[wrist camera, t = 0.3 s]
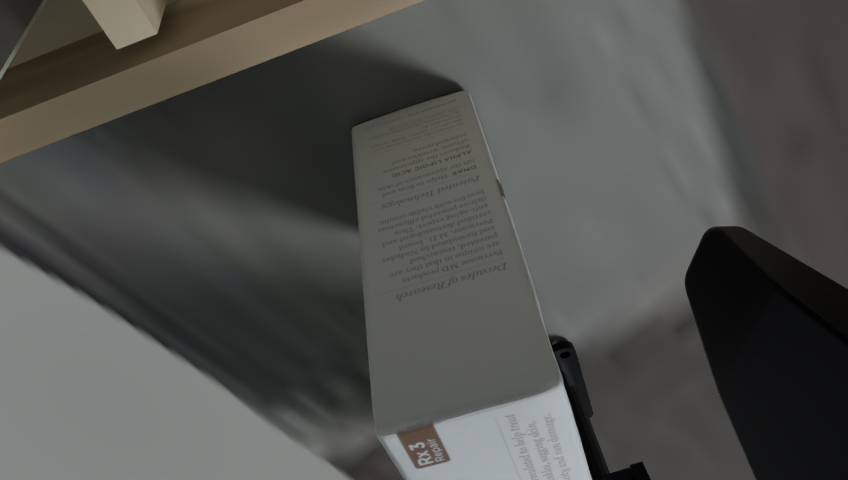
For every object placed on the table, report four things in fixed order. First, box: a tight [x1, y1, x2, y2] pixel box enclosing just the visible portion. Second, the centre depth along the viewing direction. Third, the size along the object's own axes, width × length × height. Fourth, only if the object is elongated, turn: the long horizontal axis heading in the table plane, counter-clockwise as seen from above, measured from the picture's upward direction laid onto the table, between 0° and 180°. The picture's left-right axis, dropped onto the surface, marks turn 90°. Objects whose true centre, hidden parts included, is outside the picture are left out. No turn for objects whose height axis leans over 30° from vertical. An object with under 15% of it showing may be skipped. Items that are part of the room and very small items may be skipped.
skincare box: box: [351, 91, 592, 480], centre depth 20 cm, size 6×4×12 cm
